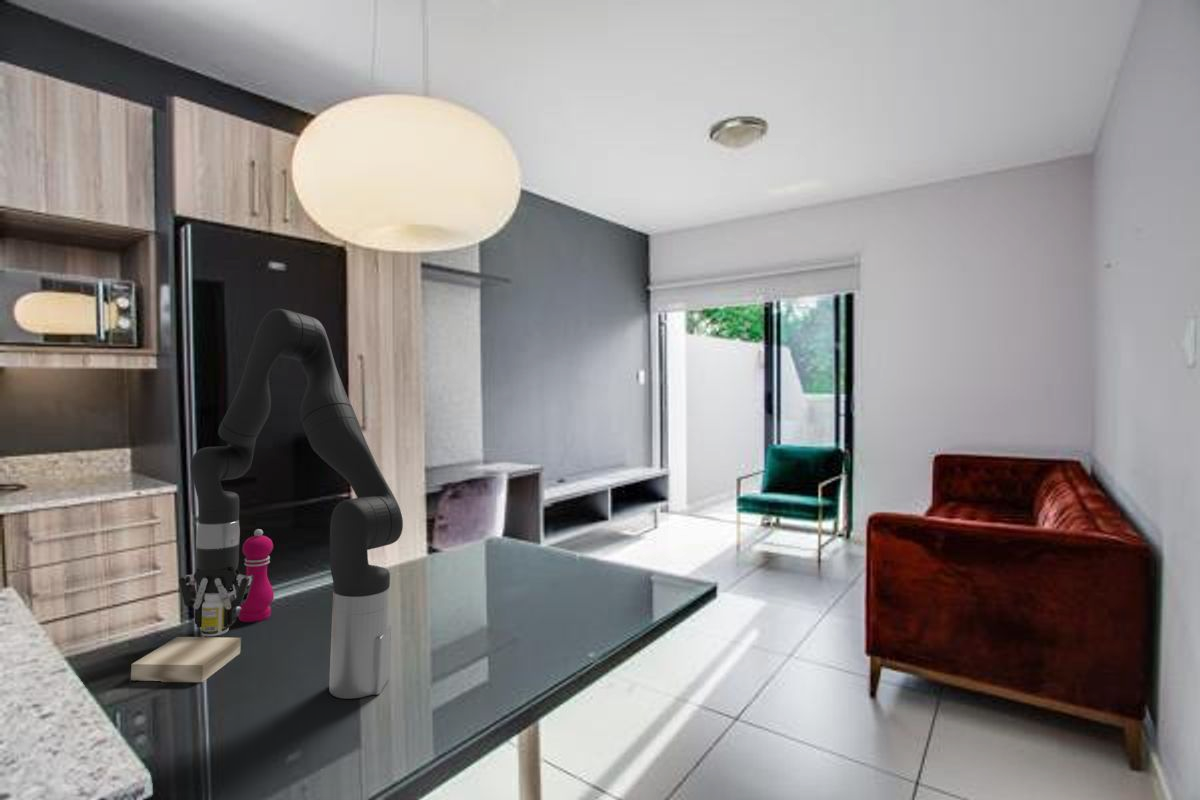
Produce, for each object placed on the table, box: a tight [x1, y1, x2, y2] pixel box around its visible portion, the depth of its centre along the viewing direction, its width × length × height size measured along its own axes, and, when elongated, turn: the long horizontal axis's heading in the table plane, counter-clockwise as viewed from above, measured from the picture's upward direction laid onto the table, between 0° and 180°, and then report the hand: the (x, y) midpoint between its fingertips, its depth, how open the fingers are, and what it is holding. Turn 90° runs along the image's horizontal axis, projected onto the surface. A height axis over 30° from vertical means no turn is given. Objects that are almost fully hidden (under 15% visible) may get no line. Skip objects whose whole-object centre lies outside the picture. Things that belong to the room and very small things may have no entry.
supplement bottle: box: [200, 591, 230, 637], centre depth 121 cm, size 5×5×8 cm
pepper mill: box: [238, 528, 275, 623], centre depth 133 cm, size 7×7×20 cm
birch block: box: [130, 636, 242, 683], centre depth 108 cm, size 12×12×3 cm
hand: (215, 625), depth 121 cm, fingers closed on supplement bottle, 4 cm apart
